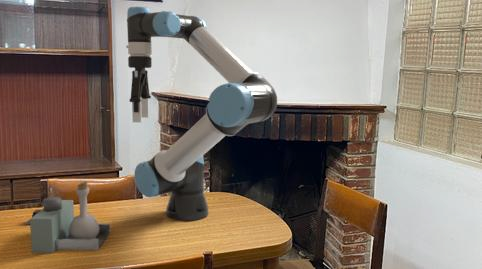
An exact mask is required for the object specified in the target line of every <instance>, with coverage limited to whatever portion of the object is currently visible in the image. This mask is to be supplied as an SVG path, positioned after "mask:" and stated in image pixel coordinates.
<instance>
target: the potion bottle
mask: <svg viewBox="0 0 482 269" xmlns="http://www.w3.org/2000/svg"><path fill="white" fill-rule="evenodd" d="M87 186H88V181H84V182H80V183H78V184H77V188H76V189H75V191H76V195H77V196H78V199H79V215H76V216H75V215H74V218H73V220H72V222H71V224H70V227H69V231H68V232H69V235H70V238H72V239H97V238H96V236H97V235H98V234H99V229H100V228H99V224H98V223H99V222H98V221H97V218H96V217H95V216H94V214H88V199H87V198H88V194H90V188H89V187H87Z"/></svg>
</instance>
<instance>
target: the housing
mask: <svg viewBox="0 0 482 269" xmlns="http://www.w3.org/2000/svg"><path fill="white" fill-rule="evenodd" d="M40 210H41V211H39V212H38V213H37V214H36V215H34V216H33V217H32V216H31V217H30V218H29V220H30V228H29V230H30V231H29V232H30V245H31V246H30V247H31V253H32V254H54V253H55V252H56V251H57V250H56V243H55V240H56V239H65V238H66V237H67V236H68V235H69V232H68V231H69V227H70V224H71V222H72V220H73V218H74V217H75V211H74V210H75V208H74V200H73V199H62V197H61V196H49V197H46V198H43V208H42V209H40Z"/></svg>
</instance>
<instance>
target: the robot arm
mask: <svg viewBox="0 0 482 269" xmlns="http://www.w3.org/2000/svg"><path fill="white" fill-rule="evenodd" d="M126 12H127V13H126V14H127V15H126V17H127V18H126V25H127V45H126V49H128V52H127V54H128V55H129V56H128V57H127V62H128V68H129V69H130V68H131V69H134V70H132V71H131V74H132V75H131V78H132V79H131V90H130V98H129V102H130V103H132V104H131V106H132V107H131V109H132V110H131V111H132V113H131V114H132V123H142V122H143V121H142V118H149V117H150V110H149V109H150V106H149V99H151V98H152V96H151V94H150V88H149V86H150V85H149V77H148V76H149V75H148V70H147V69H151V68H152V66H153V63H152V57H151V55H152V38H155V37H156V38H159V37H160V38H171V39H172V38H175V39H183V40H185V41H186V43H188V44H189V45H190V46H191V47H192V48H193V50H195V51H196V52H197V53H198V54H199V55H200V56H201V57H202V58H203V59H204V60H205V61H206V62H207V63H208V64H209V65H210V66H211V67H212V68H213V69H214V70H215V71H216V72H218V73H219V75H221V77H223V79H224V80H226V82H227V83H224V84H220V85H218V86H217V87H216V88H214V90H212V92H211V93H210V95H209V97H208V103H207V106H206V108H205V114H204V115H203V116H202V117H200V119H199V120H198V121H197V122H196V123H195V124H193V126H191V128H189V130H187V131H186V132H185V133H184V134H183V135H182V136H181V137H180V138H179V139H178V140H177V141H176V142H174V143H173V145H171V146H170V147H169V148H168V149H163V150H160V151H159V152H157V153H156V154H155V155H154V156H153V157H152V158H151V159H150V160H147V161H141V162H139V163H138V164H136V167H135V169H134V182H135V185H136V187H137V190H138V191H139V192H140V193H141V195H143V196H144V197H147V198H154V197H158V196H160V195H161V196H162V195H163V194H164V195H165V194H167V193H170V196H169V199H168V203H167V205H166V211H165V212H166V217H167V218H169V219H170V220H171V219H172V220H175V221H180V222H181V221H183V222H184V221H186V222H187V221H198V220H201V219H202V220H203V219H205V218H207V216H208V215H209V206H208V202H207V199H206V195H205V192H204V191H205V189H204V188H205V187H204V186H205V185H204V184H205V180H204V179H205V162H204V155H205V154H206V153H208V152H209V151H210V150H211V149H212V148H213V147H215V145H216V144H218V143H220V141H221V140H222V139H224V138H225V137H226V136H227V137H233V136H236V135H237V133H239V132H240V131H241V130H242V129H244V128H245V127H246V126H248V125H249V124H254V123H260V122H264V121H267V120H268V119H269V118H270V117H271V116H272V115H273V114H274V113H275V111H276V109H277V106H278V96H277V92H276V90H275V89H274V87H273V85H272V84H271V83H270V82H269V81H268V80H267V79H266V78H265V77H264V76H263V75H261V73H259V72H256V71H255V72H254V71H252V70H251V69H250V68H249V67H248V66H247V65H246V64H245V63H244V62H243V61H242V60H241V59H240V58H239V57H237V56H236V55H235V54H234V53H233V52H232V51H231V50H230V49H229V48H227V47H226V45H225V44H224V43H222V42H221V41H220V40H219V38H217V37H216V36H215V35H213V34H212V33H211V32H210V30H208V26H207V24H206V21H205V20H204V19H203V18H202V17H197V16H195V15H184V14H176V13H175V12H174V11H166V10H162V11H155V12H151V9H150V8H149V7H146V6H131V7H129V8H127V11H126Z"/></svg>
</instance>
